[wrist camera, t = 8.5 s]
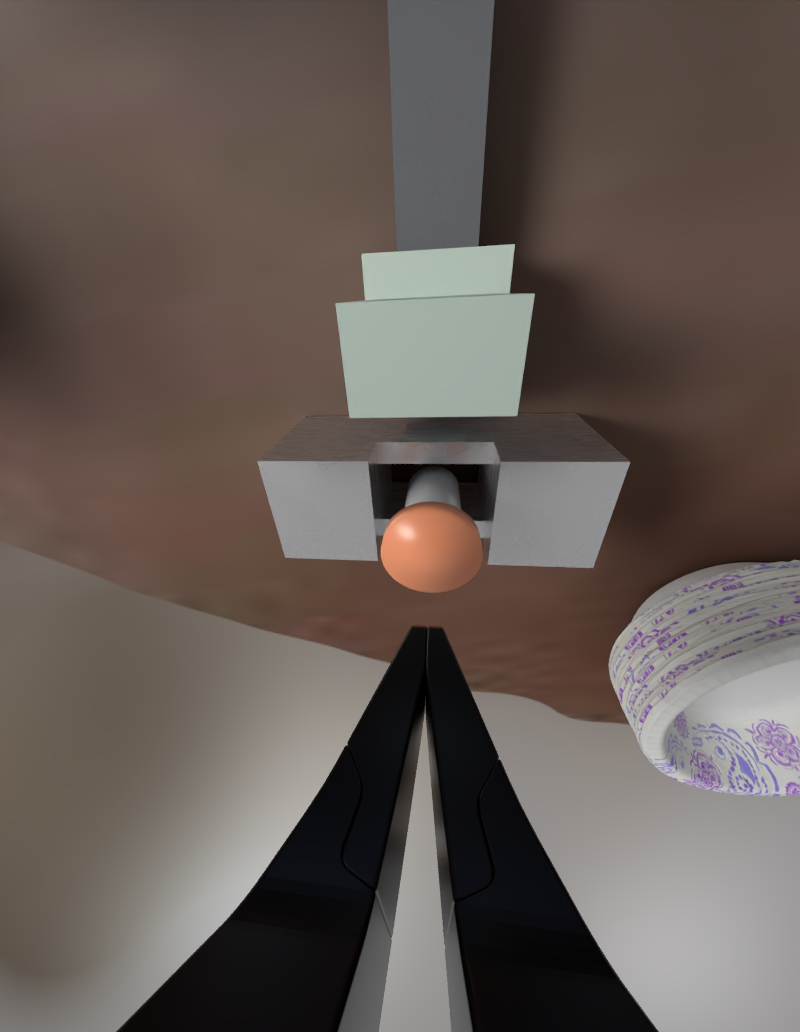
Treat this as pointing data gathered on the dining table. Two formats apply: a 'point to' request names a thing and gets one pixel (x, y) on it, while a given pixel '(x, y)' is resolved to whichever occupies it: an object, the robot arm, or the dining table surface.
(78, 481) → the dining table surface
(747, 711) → the paper bowls
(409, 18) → the rail
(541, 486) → the grey blocky piece
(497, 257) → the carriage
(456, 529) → the orange knob lever
